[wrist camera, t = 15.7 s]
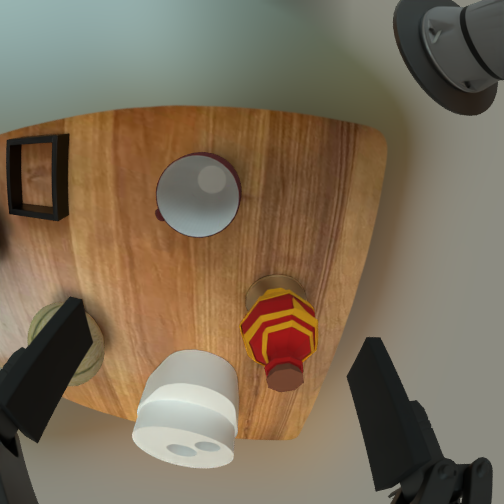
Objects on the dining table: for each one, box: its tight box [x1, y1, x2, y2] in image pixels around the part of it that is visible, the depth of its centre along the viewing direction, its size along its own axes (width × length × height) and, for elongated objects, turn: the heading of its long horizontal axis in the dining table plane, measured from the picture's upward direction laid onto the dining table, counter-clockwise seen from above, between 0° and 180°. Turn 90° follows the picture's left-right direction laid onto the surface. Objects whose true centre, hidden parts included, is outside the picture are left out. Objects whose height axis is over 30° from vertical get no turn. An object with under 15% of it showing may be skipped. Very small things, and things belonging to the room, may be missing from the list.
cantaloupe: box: [28, 302, 104, 386], centre depth 37 cm, size 15×15×15 cm
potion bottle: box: [239, 288, 318, 392], centre depth 34 cm, size 10×10×15 cm
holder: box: [6, 134, 69, 221], centre depth 32 cm, size 13×13×3 cm
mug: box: [155, 152, 242, 238], centre depth 30 cm, size 11×8×10 cm
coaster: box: [246, 274, 306, 311], centre depth 41 cm, size 9×9×1 cm
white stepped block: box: [132, 350, 239, 468], centre depth 45 cm, size 20×25×14 cm
